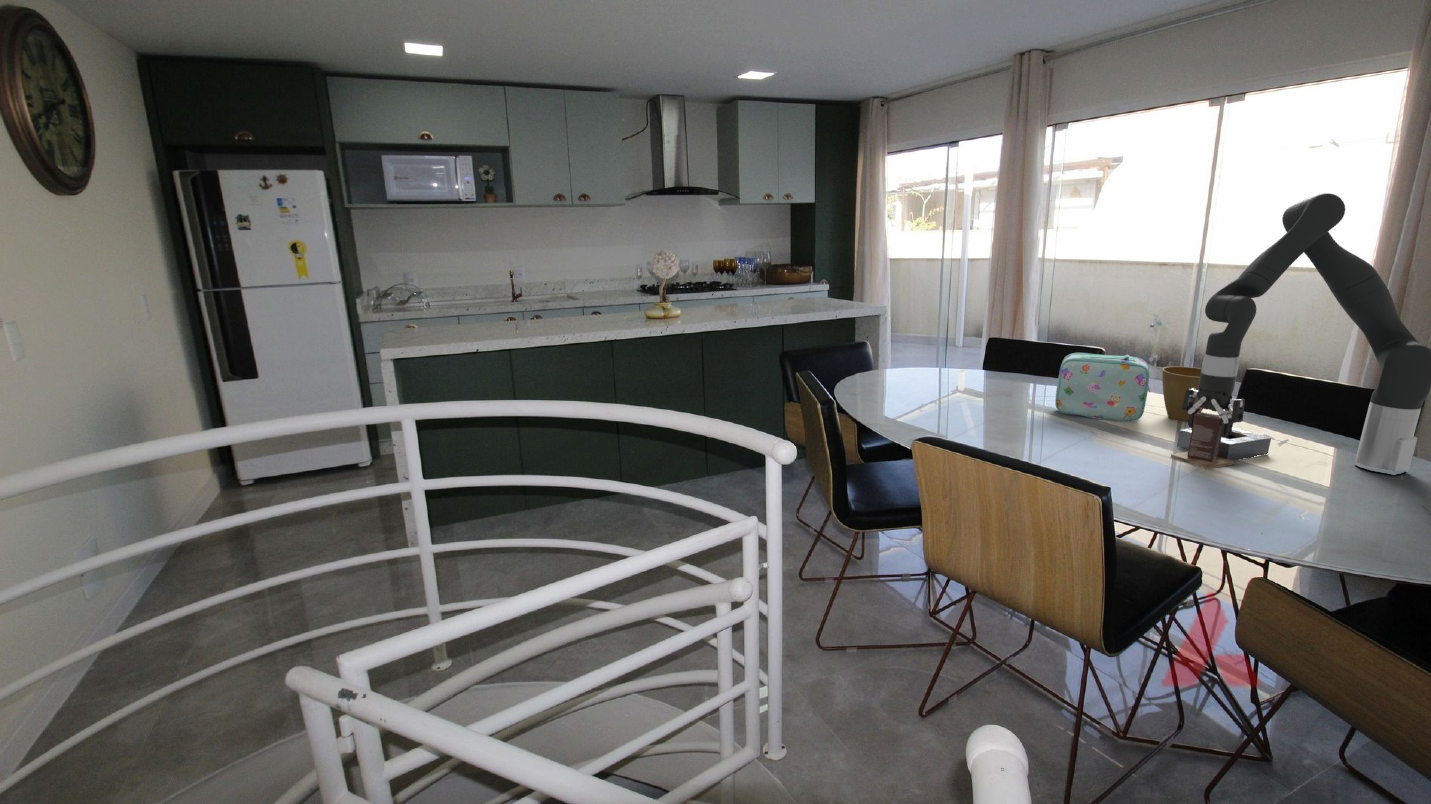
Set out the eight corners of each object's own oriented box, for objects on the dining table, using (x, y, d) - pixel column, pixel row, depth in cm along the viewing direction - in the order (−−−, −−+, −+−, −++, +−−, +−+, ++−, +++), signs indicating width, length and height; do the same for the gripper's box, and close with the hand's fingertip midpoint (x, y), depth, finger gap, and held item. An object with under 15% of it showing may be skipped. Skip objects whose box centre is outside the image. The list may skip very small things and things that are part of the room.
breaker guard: (1267, 455, 184) (1271, 437, 183) (1226, 462, 179) (1229, 443, 178) (1216, 440, 197) (1219, 423, 196) (1176, 446, 192) (1179, 428, 191)
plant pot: (1144, 416, 221) (1152, 369, 217) (1172, 410, 227) (1180, 364, 223) (1191, 428, 208) (1200, 378, 204) (1220, 422, 214) (1229, 373, 210)
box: (1217, 458, 179) (1226, 415, 176) (1212, 462, 177) (1220, 418, 174) (1191, 453, 184) (1199, 410, 181) (1185, 456, 181) (1193, 413, 178)
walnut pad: (1233, 464, 177) (1234, 461, 177) (1206, 469, 174) (1207, 466, 174) (1197, 452, 186) (1197, 450, 186) (1170, 456, 183) (1171, 454, 183)
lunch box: (1145, 417, 220) (1156, 353, 214) (1146, 426, 211) (1157, 359, 205) (1055, 407, 233) (1063, 346, 227) (1052, 414, 224) (1060, 352, 219)
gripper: (1258, 376, 168) (1245, 437, 173) (1202, 366, 181) (1192, 423, 186) (1237, 379, 166) (1225, 441, 170) (1181, 368, 179) (1172, 426, 183)
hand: (1208, 431), depth 178 cm, fingers open, 8 cm apart
